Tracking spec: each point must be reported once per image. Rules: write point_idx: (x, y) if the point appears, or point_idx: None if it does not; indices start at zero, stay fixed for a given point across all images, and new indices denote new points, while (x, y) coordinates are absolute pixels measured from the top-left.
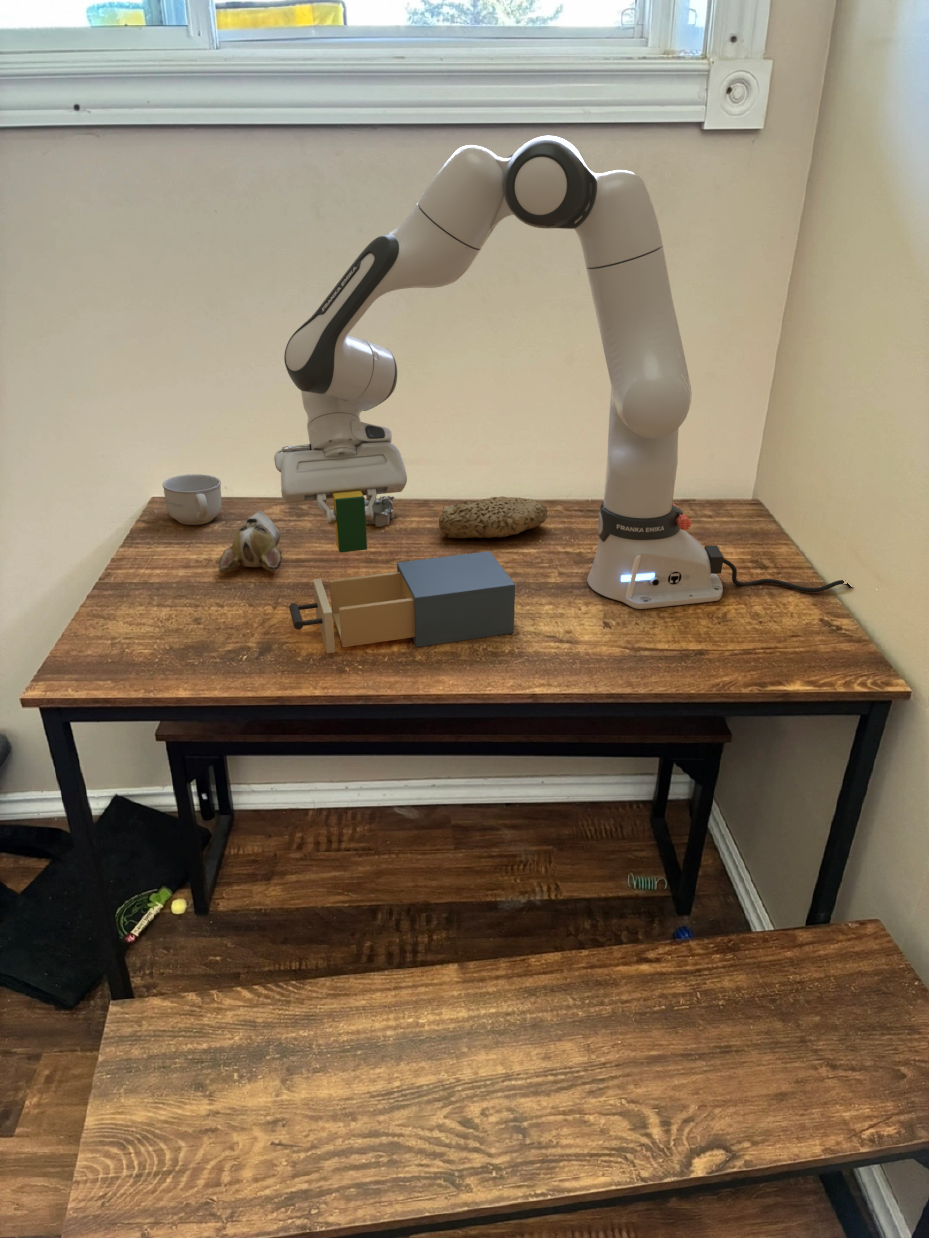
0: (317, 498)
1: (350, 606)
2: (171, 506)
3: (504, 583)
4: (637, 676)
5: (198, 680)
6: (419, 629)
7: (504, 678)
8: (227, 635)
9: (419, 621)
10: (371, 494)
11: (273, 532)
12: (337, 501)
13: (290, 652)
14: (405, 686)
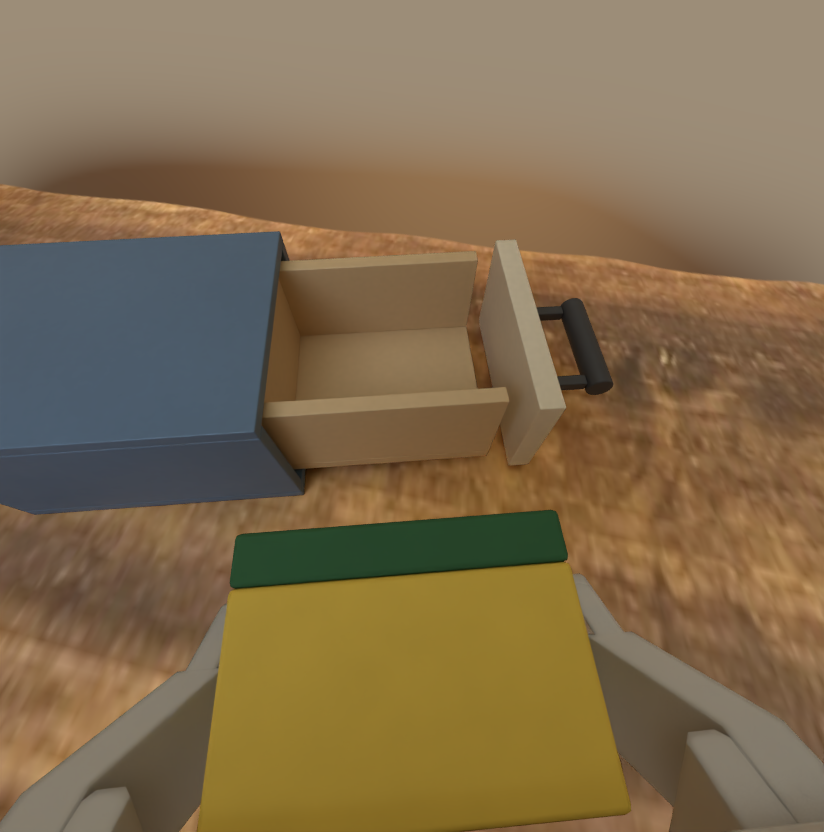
0: (815, 765)
1: (448, 259)
2: None
3: (13, 252)
4: (8, 211)
5: (727, 305)
6: None
7: None
8: (741, 450)
9: None
10: (82, 806)
11: None
12: (538, 514)
13: (571, 358)
14: (364, 241)
